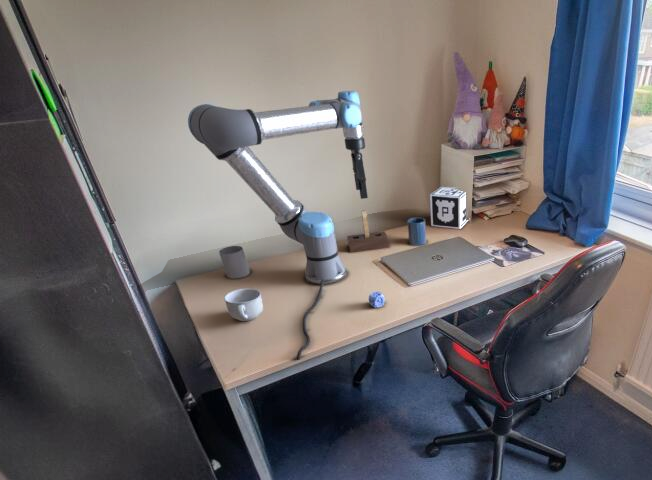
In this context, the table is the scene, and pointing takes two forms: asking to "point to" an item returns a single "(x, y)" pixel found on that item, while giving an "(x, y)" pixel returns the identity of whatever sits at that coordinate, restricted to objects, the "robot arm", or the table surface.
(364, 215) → the stirrer
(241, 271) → the cup
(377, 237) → the caddy
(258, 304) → the teacup
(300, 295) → the table surface
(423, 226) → the coffee cup
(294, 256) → the table surface
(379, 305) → the decorative dice
